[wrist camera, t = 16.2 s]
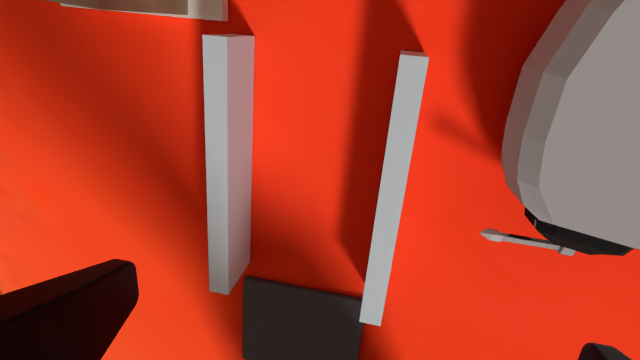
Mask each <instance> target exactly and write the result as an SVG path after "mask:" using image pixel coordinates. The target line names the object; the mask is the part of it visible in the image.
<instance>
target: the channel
mask: <svg viewBox="0 0 640 360" xmlns="http://www.w3.org/2000/svg"><path fill="white" fill-rule="evenodd" d="M254 39H255V36H251V35H241V34H208V35H202V40H203V76H204V112H205V149H206V185H207V222H208V258H209V291H211V292H216V293H221V294H226V295H229V293H230V292H231V290H232V289H233V287H234V286H235V284H236V283H237V281H238V280H239V278H240V277H241V275H242V274H243V272H244V270H245V269H246V267H247V266H248V264H249V263H250V242H251V191H252V140H253V90H254ZM428 61H429V57H428V56H427V55H426V54H425V53H423V52H413V51H403V50H401V52H400V58H399V65H398V71H397V78H396V84H395V91H394V97H393V104H392V110H391V117H390V123H389V130H388V136H387V143H386V149H385V156H384V162H383V169H382V175H381V182H380V188H379V195H378V201H377V208H376V214H375V221H374V227H373V234H372V240H371V247H370V253H369V260H368V266H367V273H366V279H365V286H364V292H363V299H362V306H361V313H360V319H359V322H362V323H367V324H372V325H377V326H381V321H382V315H383V310H384V304H385V299H386V293H387V288H388V282H389V276H390V271H391V265H392V260H393V254H394V249H395V243H396V238H397V232H398V227H399V221H400V216H401V210H402V205H403V199H404V194H405V188H406V183H407V177H408V171H409V166H410V160H411V155H412V149H413V144H414V138H415V133H416V127H417V122H418V116H419V111H420V105H421V100H422V94H423V89H424V83H425V78H426V72H427V67H428Z"/></svg>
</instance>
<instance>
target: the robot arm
mask: <svg viewBox="0 0 640 360" xmlns="http://www.w3.org/2000/svg"><path fill="white" fill-rule="evenodd" d="M138 296H139V291H138V282H137V274H136V267H135V265H134V263H132V262H131V261H125V260H120V259H113V260H109V261H106V262H103V263H100V264H97V265H94V266H91V267H87V268H84V269H81V270H78V271H75V272H72V273H69V274H65V275H62V276H59V277H56V278H53V279H50V280H47V281H44V282H40V283H37V284H34V285H31V286H28V287H25V288H22V289H18V290H15V291H12V292H9V293H6V294H3V295H0V360H101V358H102V357H103V355H104V354H105V352H106V351H107V349H108V347H109V346H110V344H111V343H112V341H113V340H114V338H115V337H116V335H117V333H118V332H119V330H120V329H121V327H122V326H123V324H124V323H125V321H126V319H127V318H128V316H129V315H130V313H131V312H132V310H133V309H134V307H135V305H136V303H137V301H138ZM578 360H631V359H630V358H629V357H627V356H626V355H624V354H623V353H622V352H620V351H619V350H617V349H616V348H614V347H612V346H608V345H602V344H597V343H587V344H585V345H584V346H583V348H582V350H581V353H580V355H579V358H578Z"/></svg>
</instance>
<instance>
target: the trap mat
mask: <svg viewBox="0 0 640 360" xmlns="http://www.w3.org/2000/svg"><path fill="white" fill-rule="evenodd" d="M361 306H362V298H356V297H351V296H346V295H341V294H336V293H331V292H326V291H321V290H316V289H310V288H305V287H300V286H295V285H290V284H285V283H280V282H275V281H270V280H264V279H259V278H254V277H249V276H245V278H244V297H243V359H247V360H358V354H359V347H360V341H361V335H362V329H363V323H362V322H359V319H360V313H361Z"/></svg>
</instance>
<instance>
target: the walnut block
mask: <svg viewBox="0 0 640 360" xmlns="http://www.w3.org/2000/svg"><path fill="white" fill-rule="evenodd" d="M46 1H52V2H58V3H64V4H70V5H76V6H82V7H87V8H93V9H100V10H116V11H131V12H147V13H162V14H177V15H188V0H46Z"/></svg>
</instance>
